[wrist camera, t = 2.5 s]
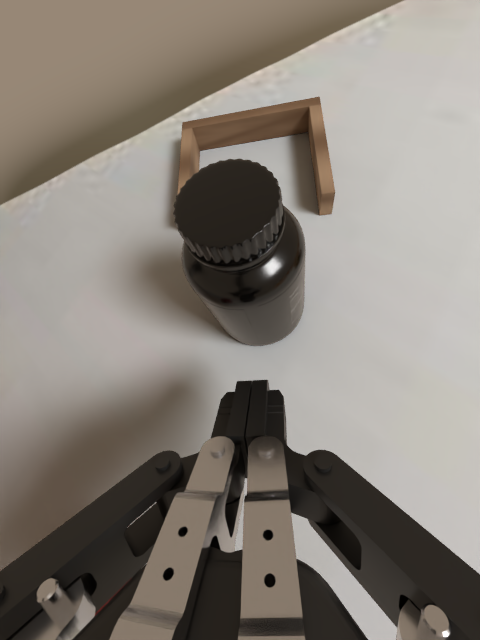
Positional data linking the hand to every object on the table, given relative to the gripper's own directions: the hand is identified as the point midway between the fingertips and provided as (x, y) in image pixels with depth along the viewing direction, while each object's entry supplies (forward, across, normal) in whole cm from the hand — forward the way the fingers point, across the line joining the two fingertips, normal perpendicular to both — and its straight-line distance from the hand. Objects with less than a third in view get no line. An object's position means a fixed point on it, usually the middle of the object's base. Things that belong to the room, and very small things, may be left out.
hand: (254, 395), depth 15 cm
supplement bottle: (+10, 0, 0) cm, 11 cm away
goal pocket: (+19, 0, -10) cm, 22 cm away
